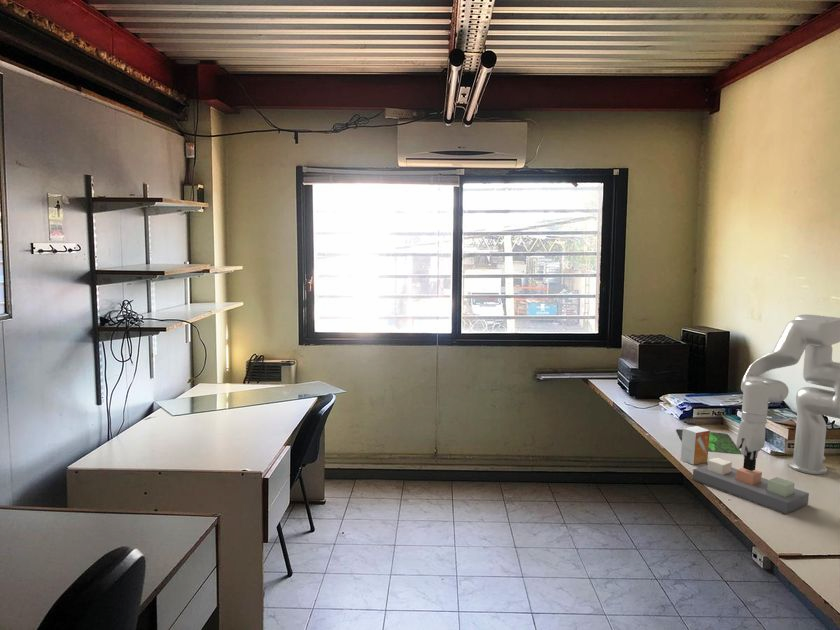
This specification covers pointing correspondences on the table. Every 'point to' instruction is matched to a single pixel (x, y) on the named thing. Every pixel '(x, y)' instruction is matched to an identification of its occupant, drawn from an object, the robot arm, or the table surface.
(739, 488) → the key console
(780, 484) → the sage key
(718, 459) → the cream key
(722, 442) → the mouse mat
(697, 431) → the small box
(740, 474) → the terracotta key
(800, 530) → the table surface
